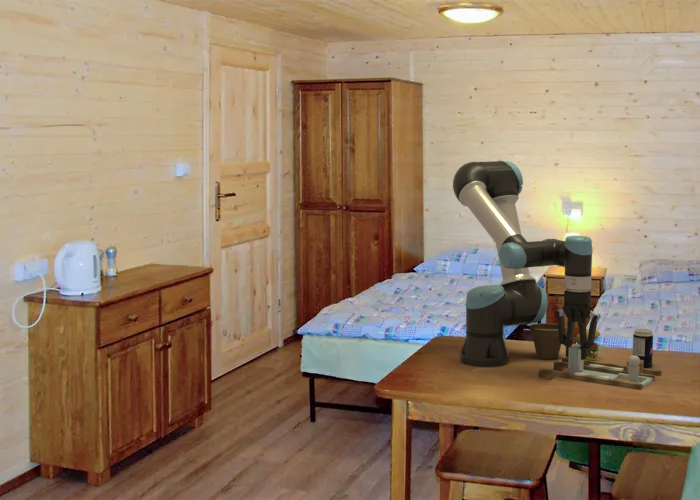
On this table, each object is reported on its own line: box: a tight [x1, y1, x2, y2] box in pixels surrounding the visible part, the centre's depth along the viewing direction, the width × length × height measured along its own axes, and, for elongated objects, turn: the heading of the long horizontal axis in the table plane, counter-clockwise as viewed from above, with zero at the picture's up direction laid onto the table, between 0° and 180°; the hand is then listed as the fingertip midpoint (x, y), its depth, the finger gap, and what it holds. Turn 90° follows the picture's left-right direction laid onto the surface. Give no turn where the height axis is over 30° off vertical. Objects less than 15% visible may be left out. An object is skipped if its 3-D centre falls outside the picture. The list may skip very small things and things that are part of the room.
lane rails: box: [537, 356, 662, 391], centre depth 263 cm, size 30×18×3 cm, turn 54°
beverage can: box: [632, 328, 654, 369], centre depth 271 cm, size 6×6×12 cm
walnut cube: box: [626, 360, 644, 373], centre depth 262 cm, size 4×4×4 cm
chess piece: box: [625, 354, 642, 383], centre depth 254 cm, size 5×5×9 cm
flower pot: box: [529, 322, 567, 360], centre depth 288 cm, size 12×11×10 cm
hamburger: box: [575, 328, 601, 361], centre depth 281 cm, size 8×7×12 cm
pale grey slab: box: [568, 343, 654, 390], centre depth 258 cm, size 22×9×9 cm, turn 54°
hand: (575, 369), depth 264 cm, fingers closed on pale grey slab, 2 cm apart
